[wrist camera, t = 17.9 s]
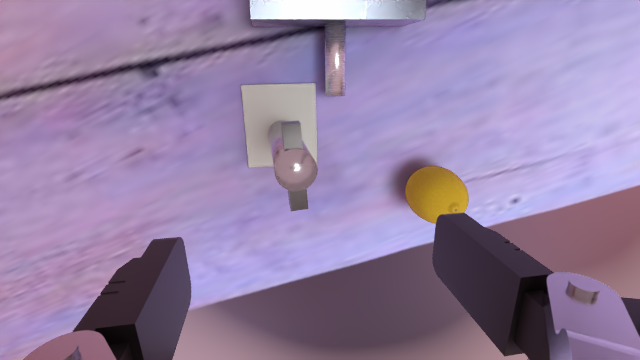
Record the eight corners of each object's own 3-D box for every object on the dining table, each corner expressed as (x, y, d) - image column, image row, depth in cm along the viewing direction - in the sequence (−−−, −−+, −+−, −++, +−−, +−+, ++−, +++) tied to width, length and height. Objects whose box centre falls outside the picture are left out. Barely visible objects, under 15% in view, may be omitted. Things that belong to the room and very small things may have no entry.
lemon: (393, 161, 36) (427, 186, 29) (441, 154, 37) (486, 176, 29) (395, 207, 38) (427, 242, 31) (440, 200, 39) (483, 231, 31)
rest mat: (241, 85, 31) (241, 85, 31) (314, 83, 32) (315, 83, 32) (248, 166, 34) (248, 167, 33) (316, 162, 35) (317, 163, 34)
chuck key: (293, 102, 32) (313, 123, 21) (299, 161, 34) (320, 209, 23) (264, 105, 32) (269, 127, 20) (271, 165, 34) (280, 215, 23)
